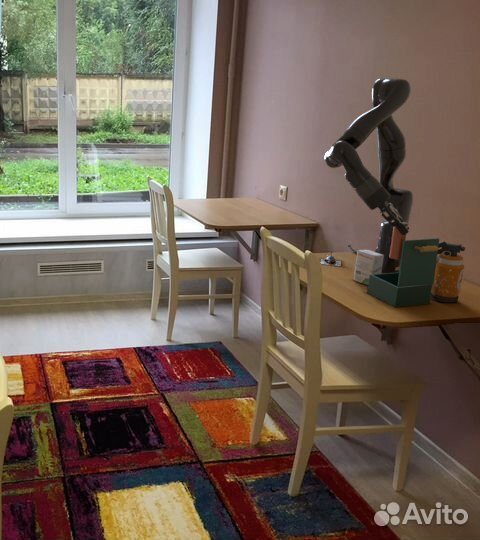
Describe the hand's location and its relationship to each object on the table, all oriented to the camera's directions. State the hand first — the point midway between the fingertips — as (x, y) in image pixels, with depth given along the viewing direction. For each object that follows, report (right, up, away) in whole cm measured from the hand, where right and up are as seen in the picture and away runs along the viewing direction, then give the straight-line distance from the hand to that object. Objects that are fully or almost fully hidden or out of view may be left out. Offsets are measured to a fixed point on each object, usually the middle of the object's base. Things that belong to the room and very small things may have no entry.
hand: (406, 231), depth 197 cm
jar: (-2, -8, +4) cm, 9 cm away
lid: (+4, -10, +2) cm, 11 cm away
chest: (+3, -22, +12) cm, 25 cm away
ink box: (-2, -17, +28) cm, 33 cm away
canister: (+17, -23, +12) cm, 31 cm away
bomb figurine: (-7, -10, +52) cm, 54 cm away
